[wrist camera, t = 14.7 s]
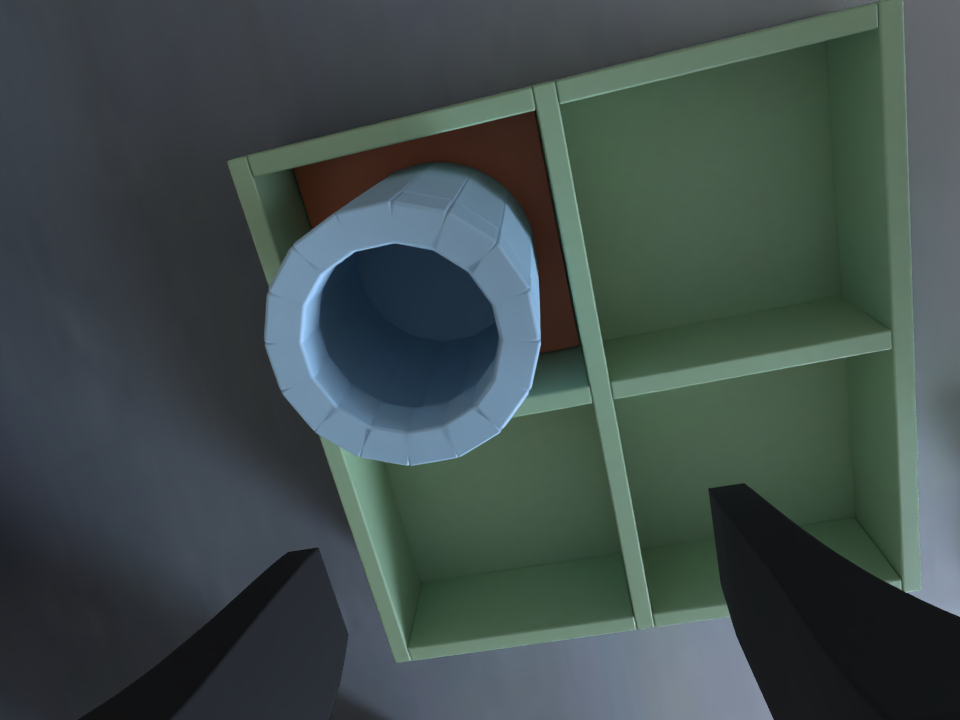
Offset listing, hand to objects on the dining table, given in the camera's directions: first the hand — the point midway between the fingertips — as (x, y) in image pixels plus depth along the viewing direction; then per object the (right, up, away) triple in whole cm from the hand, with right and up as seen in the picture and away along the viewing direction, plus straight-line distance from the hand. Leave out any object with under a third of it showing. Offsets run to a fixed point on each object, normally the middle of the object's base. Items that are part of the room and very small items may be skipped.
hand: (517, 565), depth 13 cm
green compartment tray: (+3, +4, +8) cm, 10 cm away
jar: (-2, +7, +7) cm, 10 cm away
